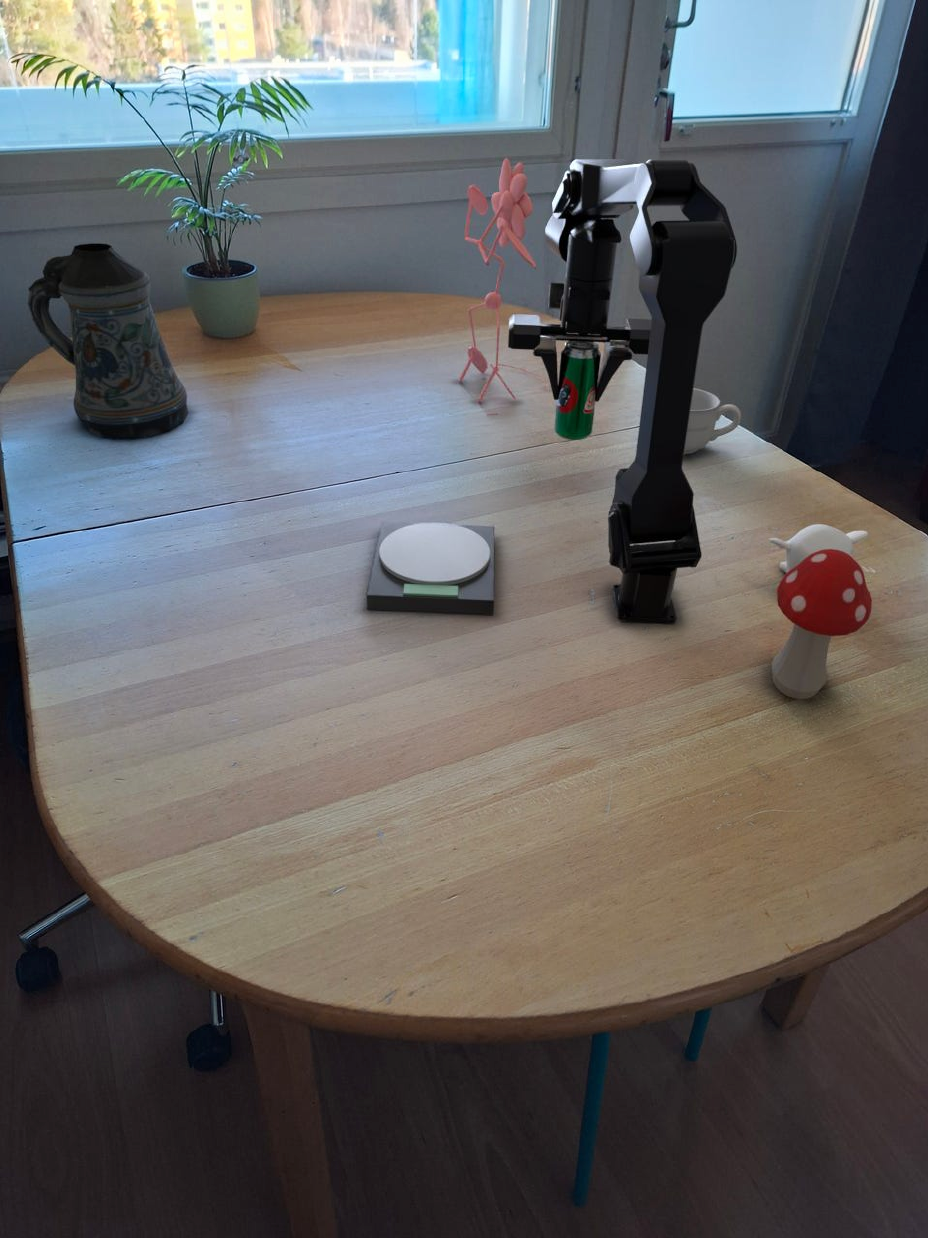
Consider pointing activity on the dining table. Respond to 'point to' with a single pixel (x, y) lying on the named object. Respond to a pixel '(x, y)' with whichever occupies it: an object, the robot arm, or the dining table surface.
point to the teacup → (707, 420)
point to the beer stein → (110, 344)
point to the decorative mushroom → (818, 617)
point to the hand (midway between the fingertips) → (576, 399)
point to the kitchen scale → (433, 569)
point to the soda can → (577, 389)
